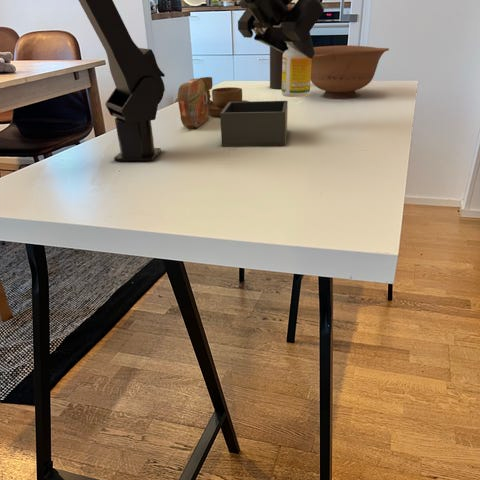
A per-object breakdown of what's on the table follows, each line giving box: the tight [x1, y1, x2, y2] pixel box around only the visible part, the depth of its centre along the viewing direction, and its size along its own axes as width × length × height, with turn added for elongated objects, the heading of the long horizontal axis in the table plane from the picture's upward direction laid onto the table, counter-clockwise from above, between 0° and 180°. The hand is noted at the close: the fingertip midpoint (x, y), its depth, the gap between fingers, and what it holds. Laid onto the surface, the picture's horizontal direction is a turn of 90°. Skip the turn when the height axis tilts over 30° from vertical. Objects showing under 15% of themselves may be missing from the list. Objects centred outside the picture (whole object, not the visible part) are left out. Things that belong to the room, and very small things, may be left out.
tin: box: [177, 77, 210, 129], centre depth 100 cm, size 15×3×8 cm, turn 169°
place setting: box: [202, 76, 251, 117], centre depth 113 cm, size 18×20×6 cm
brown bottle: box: [269, 5, 292, 90], centre depth 135 cm, size 7×7×20 cm
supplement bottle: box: [281, 44, 312, 98], centre depth 89 cm, size 5×5×10 cm
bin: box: [219, 100, 289, 147], centre depth 88 cm, size 11×11×6 cm
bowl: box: [310, 44, 390, 99], centre depth 122 cm, size 22×22×11 cm
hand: (303, 55), depth 89 cm, fingers closed on supplement bottle, 5 cm apart
